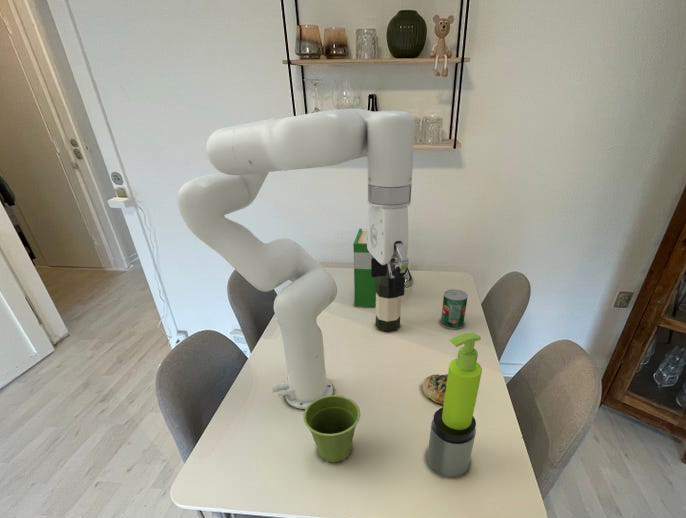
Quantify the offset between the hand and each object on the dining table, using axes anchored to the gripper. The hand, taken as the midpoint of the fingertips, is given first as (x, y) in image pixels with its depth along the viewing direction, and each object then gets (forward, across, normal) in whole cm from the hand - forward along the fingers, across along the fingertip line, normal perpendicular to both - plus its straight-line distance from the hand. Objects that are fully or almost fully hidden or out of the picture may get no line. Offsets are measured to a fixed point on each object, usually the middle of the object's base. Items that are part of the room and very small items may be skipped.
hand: (386, 285), depth 75 cm
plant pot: (+36, +7, -14) cm, 39 cm away
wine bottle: (+36, -41, +16) cm, 57 cm away
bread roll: (+36, -4, +18) cm, 40 cm away
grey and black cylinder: (+35, +17, +9) cm, 40 cm away
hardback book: (+36, -65, +16) cm, 76 cm away
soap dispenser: (+24, +17, +9) cm, 30 cm away
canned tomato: (+36, -36, +38) cm, 63 cm away
